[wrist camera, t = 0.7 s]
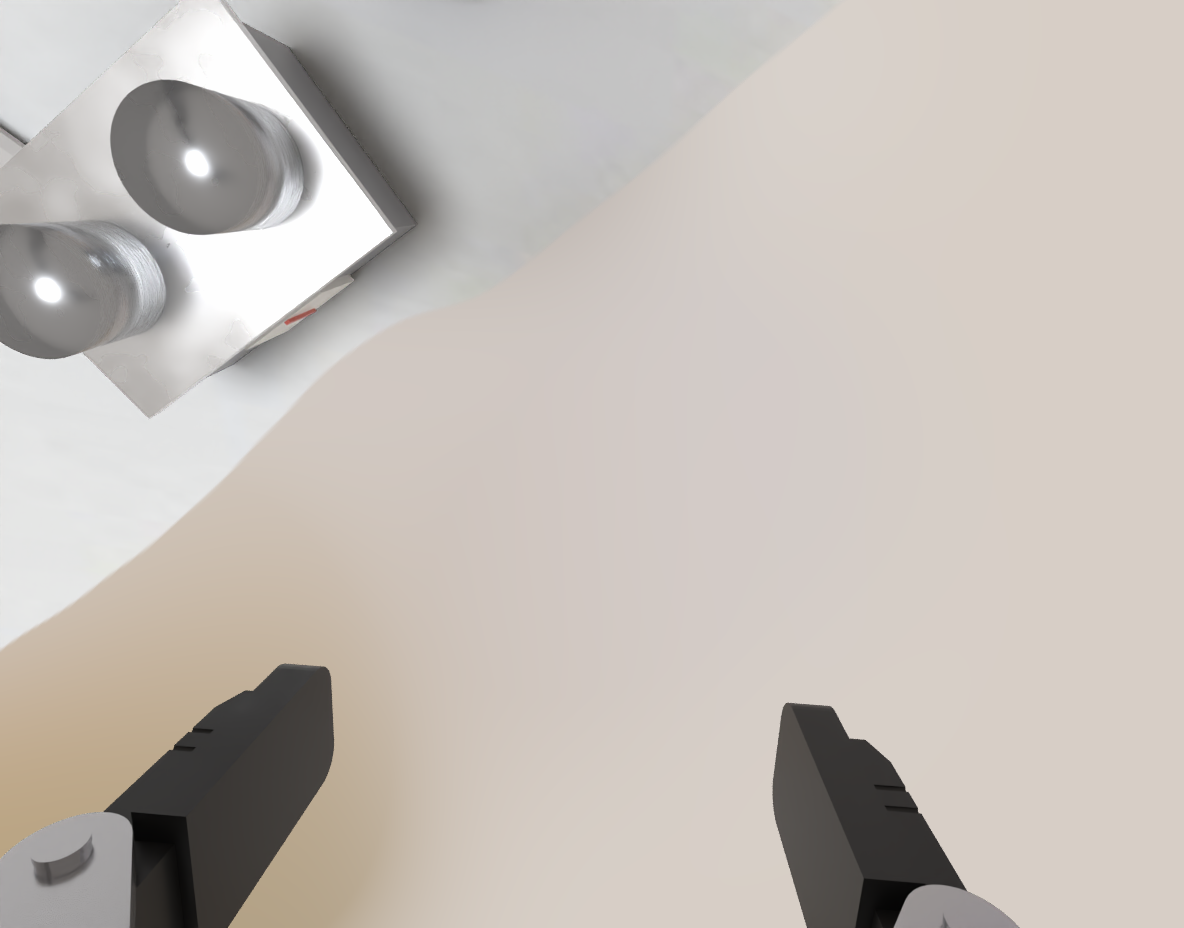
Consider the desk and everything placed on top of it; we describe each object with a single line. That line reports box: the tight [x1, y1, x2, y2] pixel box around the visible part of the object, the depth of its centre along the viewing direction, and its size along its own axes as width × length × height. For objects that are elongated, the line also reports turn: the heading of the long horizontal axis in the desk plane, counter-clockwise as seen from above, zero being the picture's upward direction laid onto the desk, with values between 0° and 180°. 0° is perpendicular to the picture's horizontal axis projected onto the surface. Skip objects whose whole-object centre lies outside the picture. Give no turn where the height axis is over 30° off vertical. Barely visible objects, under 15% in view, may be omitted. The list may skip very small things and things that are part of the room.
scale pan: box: [0, 0, 397, 418], centre depth 26 cm, size 14×10×1 cm
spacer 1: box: [0, 221, 166, 359], centre depth 24 cm, size 5×5×4 cm
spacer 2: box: [110, 80, 304, 235], centre depth 23 cm, size 5×5×4 cm
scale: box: [206, 22, 417, 378], centre depth 29 cm, size 13×10×6 cm
